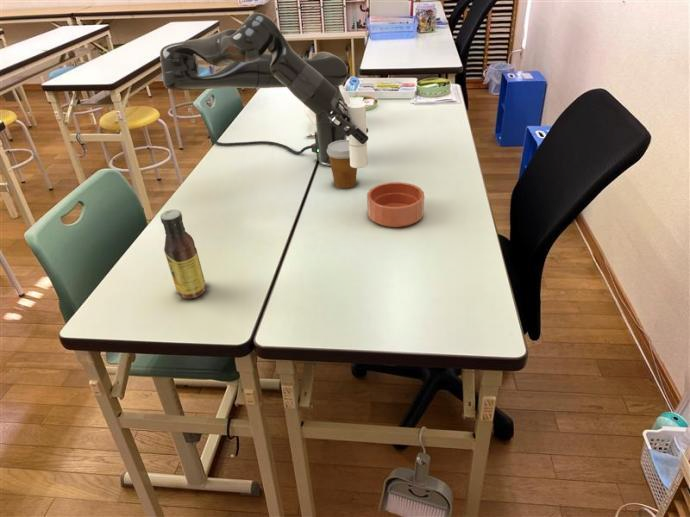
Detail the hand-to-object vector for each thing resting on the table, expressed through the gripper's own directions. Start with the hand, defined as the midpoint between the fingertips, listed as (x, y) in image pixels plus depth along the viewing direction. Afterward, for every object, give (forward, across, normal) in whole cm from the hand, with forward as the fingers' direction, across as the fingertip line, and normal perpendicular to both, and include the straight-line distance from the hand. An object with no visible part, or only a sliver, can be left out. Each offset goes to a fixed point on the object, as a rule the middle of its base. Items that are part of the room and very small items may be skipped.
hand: (365, 137), depth 125 cm
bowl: (+21, 0, -10) cm, 23 cm away
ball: (+6, -66, -26) cm, 71 cm away
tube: (+4, 0, -6) cm, 8 cm away
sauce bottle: (-12, +32, -43) cm, 54 cm away
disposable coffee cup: (+11, -20, -20) cm, 30 cm away
